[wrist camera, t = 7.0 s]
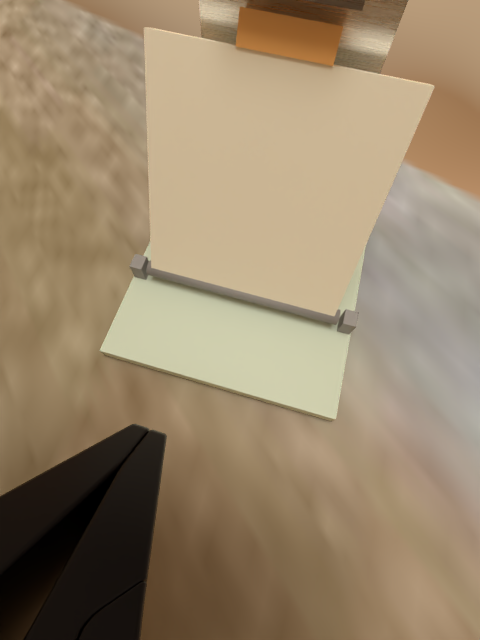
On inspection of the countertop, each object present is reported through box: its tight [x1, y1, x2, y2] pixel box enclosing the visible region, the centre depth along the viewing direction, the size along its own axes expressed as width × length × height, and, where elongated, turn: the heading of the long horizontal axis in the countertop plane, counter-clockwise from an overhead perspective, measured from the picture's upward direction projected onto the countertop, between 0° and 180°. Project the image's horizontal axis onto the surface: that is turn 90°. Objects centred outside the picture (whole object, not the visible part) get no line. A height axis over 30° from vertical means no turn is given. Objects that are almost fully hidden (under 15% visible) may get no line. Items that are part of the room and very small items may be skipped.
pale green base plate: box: [100, 243, 366, 421], centre depth 24 cm, size 17×15×2 cm
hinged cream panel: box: [144, 7, 435, 325], centre depth 18 cm, size 1×13×14 cm, turn 74°
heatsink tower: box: [199, 0, 408, 74], centre depth 19 cm, size 5×8×15 cm, turn 74°
